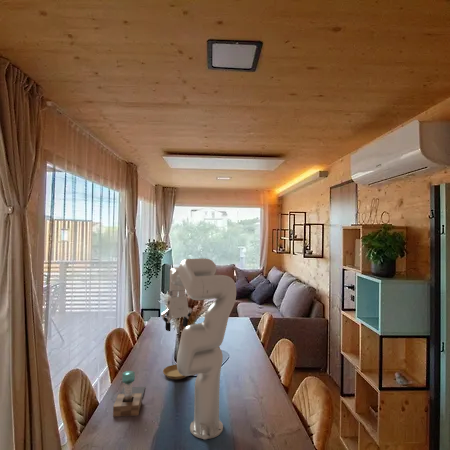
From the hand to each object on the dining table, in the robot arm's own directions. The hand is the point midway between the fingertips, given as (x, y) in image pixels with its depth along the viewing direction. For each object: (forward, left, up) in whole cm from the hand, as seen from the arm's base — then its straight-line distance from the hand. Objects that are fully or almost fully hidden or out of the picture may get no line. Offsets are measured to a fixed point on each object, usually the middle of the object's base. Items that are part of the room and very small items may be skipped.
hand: (176, 328), depth 156 cm
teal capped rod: (-17, +20, -28) cm, 38 cm away
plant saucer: (+14, 0, -29) cm, 32 cm away
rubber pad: (-4, +20, -28) cm, 35 cm away
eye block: (-17, +20, -28) cm, 38 cm away
